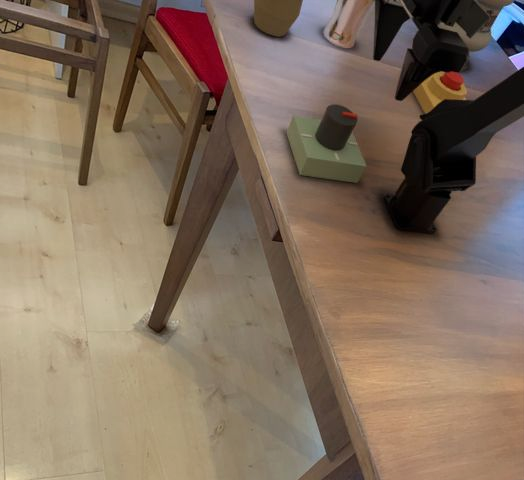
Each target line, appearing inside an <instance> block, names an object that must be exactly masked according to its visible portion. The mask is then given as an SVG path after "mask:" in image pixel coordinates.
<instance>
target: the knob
mask: <svg viewBox="0 0 524 480" xmlns="http://www.w3.org/2000/svg"><path fill="white" fill-rule="evenodd" d="M320 120H321V122H320V125H319V127H318V129H317V131H316V134H315V136H316V139H317V140H318V142H319V143H320V144H321V145H323V146H324V147H326V148H328V149H331V150H342V149H343V148H344V147H345V145H346V143H347V141H348V139H349V137H350V135H351V133H352V132H353V131H354V129H355V127H356V125H357V123H358V114H357V113H354V112H353V111H352V110H350V109H349V108H347V107H346V106H344V105H340V104H336V103H335V104H333V103H331V104H329V105H328V106H327V107H326V109H325V111H324V113H323V115H322V118H321V119H320Z"/></svg>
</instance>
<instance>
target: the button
mask: <svg viewBox="0 0 524 480" xmlns="http://www.w3.org/2000/svg"><path fill="white" fill-rule="evenodd" d="M443 73H444V75H443V77H442V78H441V80H440V81H441V83H442V84H444V85H445V86H446V87H447V88H449V89H451V90H455V91H458V90H459V88H460V87H461V85H462V84H464V82H465V79H464V77H463V76H462V75H461V74H460V73H456V72H452V71H451V72H449V73H446V72H443Z"/></svg>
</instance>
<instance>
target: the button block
mask: <svg viewBox="0 0 524 480" xmlns="http://www.w3.org/2000/svg"><path fill="white" fill-rule="evenodd" d="M444 73H445V72H442V71H441V72H438V73H435V74H433V75H432V76H430V77H429V78H428V79H426V80H425V81H424V82H423V83H422V84H420V85H419V86H418V87H417V88H416V89H415V90H414V91H413V92H412V93H413V94H414V96H415V98H416V100H417V102H418V103H419V105H420V107H421V109H422V111H423V114H426V113H428V112H430V111H431V110H432V109H433V108H434V107H435V106H436V105H437V104H438V103H440V102H441V101H443V100H444V99H456V100H467V98H466V96H467V94H468V93H467V92H468V89H467V88H466V86H465V84H464V83H463V84H462V85H461V87H460V88H459V90H458V91H455V90H451V89H449V88H447V87H446V86H445V85H444V84H442V83H441V81H440V80H441V78H442V77H443V75H444Z"/></svg>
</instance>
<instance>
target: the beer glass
mask: <svg viewBox="0 0 524 480" xmlns="http://www.w3.org/2000/svg"><path fill="white" fill-rule="evenodd" d="M374 4H375V0H336V2H335V7H334V9H333V13H332V15H331V17H330V19H329V20H328V22H327V24H326V26H325V28H324V30H323V33H322V34H323V36H324V38H325V39H326V40H327V42H330V43H331V44H333V45H334V46H336V47H338V48H343V49H351V48H353V47H354V45H355V43H356V38H357V36H358V32H359V29H360V27H361V24H362V23H363V21H364V19H365V18H366V16H367V14H368V13H369V11H370V10H371V8H372V6H373V5H374Z"/></svg>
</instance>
